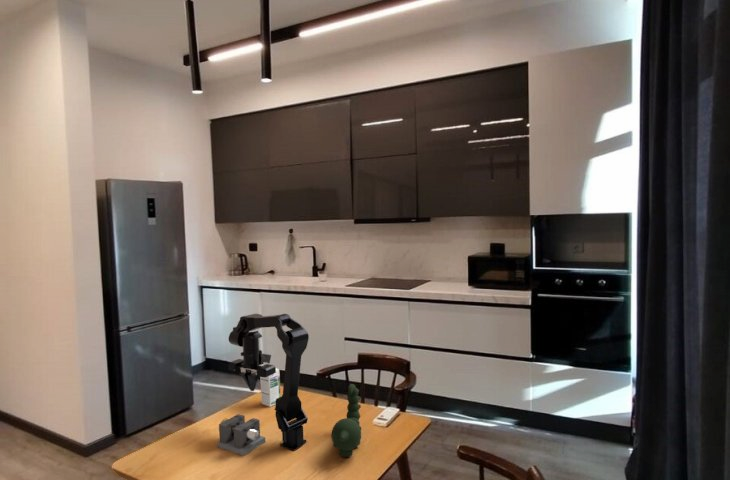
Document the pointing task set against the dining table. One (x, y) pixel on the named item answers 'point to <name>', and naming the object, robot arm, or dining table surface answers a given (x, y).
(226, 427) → the bearing bracket
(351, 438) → the toy figurine
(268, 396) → the syrup box
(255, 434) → the shaft
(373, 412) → the dining table surface
